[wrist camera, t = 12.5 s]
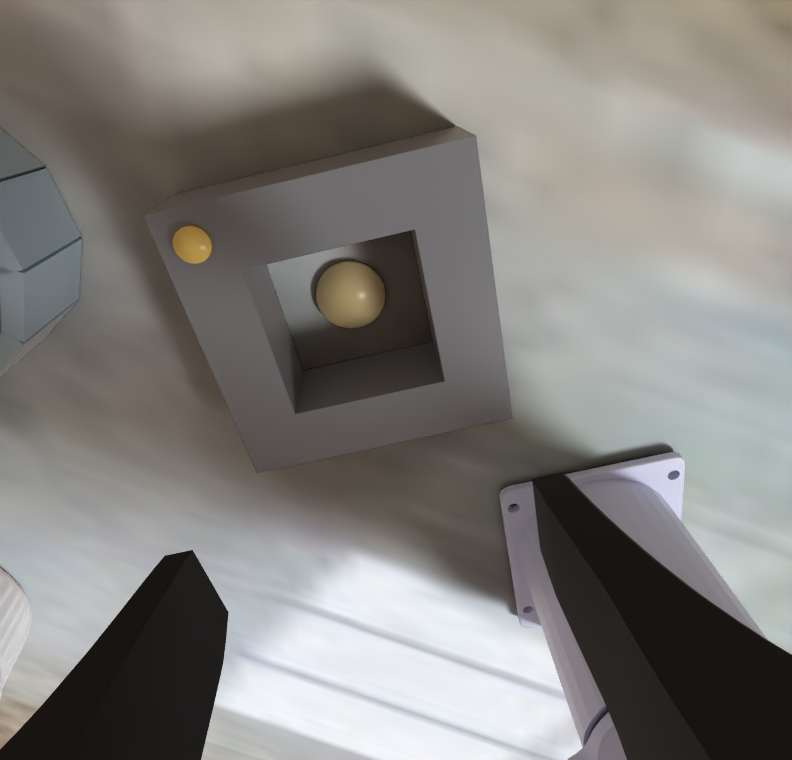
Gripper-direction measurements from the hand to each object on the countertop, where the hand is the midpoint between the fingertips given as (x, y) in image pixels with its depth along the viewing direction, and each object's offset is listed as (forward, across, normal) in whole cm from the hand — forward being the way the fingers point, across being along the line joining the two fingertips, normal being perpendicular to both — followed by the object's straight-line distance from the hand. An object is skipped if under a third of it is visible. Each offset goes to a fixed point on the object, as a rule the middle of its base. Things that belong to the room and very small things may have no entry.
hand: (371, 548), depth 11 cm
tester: (+10, 0, -2) cm, 10 cm away
